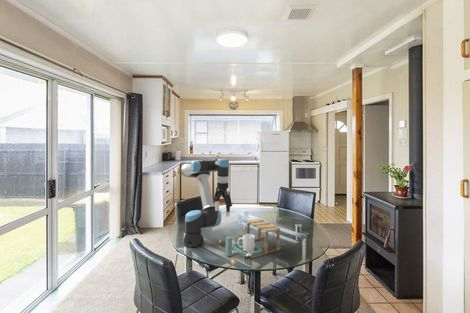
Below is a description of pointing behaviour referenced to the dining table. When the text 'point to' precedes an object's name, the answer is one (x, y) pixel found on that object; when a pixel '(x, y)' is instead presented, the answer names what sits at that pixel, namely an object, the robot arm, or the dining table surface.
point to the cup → (247, 242)
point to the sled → (234, 246)
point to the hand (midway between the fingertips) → (222, 213)
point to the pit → (275, 242)
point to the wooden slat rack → (266, 228)
